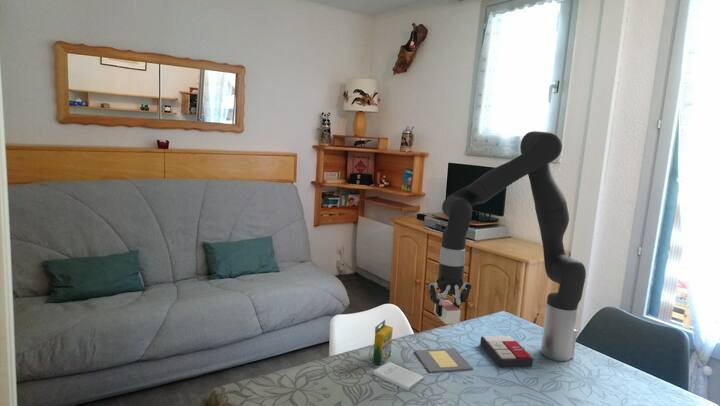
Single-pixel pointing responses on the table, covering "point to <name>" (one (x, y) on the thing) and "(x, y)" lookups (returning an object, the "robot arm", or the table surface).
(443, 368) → the rubber mat
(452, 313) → the card deck
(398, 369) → the external hard drive
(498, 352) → the calculator
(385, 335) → the crayon box
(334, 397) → the table surface
